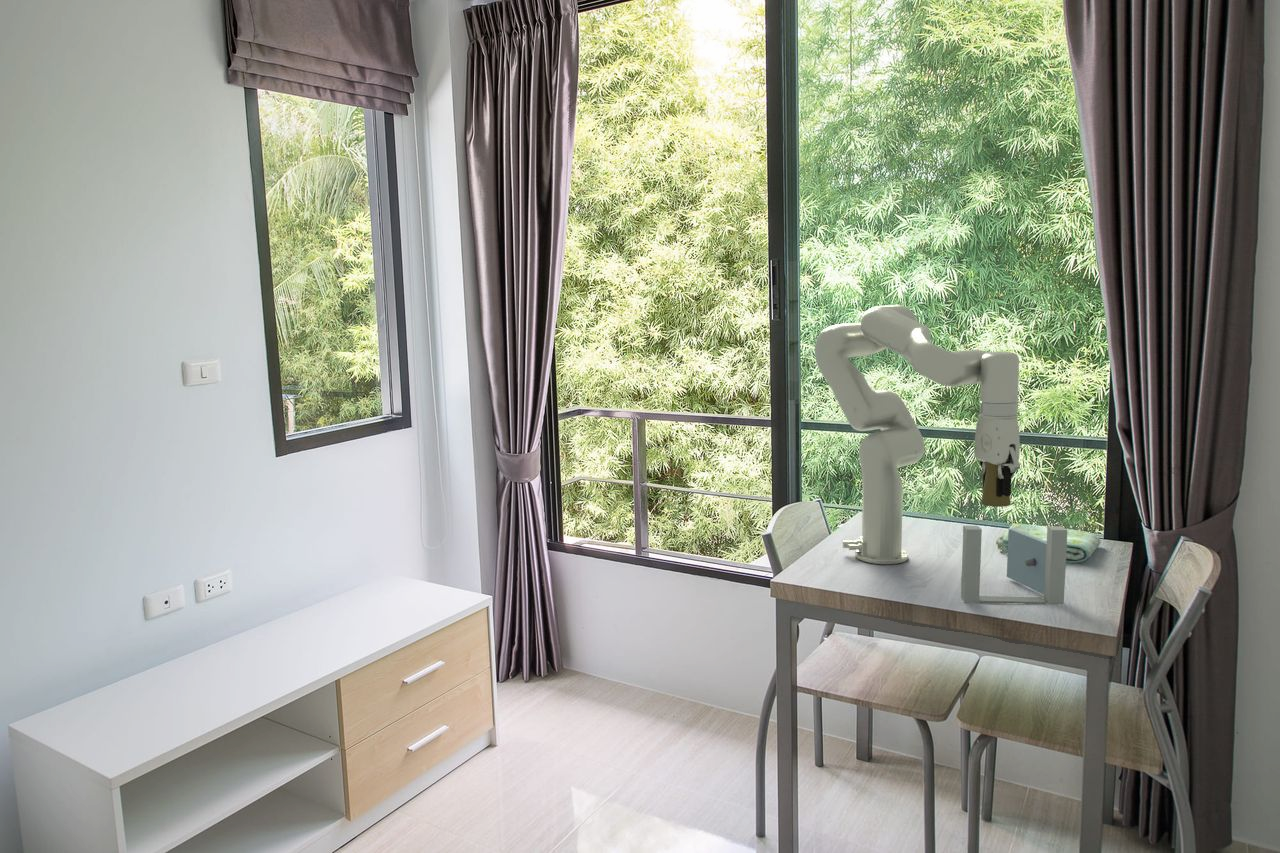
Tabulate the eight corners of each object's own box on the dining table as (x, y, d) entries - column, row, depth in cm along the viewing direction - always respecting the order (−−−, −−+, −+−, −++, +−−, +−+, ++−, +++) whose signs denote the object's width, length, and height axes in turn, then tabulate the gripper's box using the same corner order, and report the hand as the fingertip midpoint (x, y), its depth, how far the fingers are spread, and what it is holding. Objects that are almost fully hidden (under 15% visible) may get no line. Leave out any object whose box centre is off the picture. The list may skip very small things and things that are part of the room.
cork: (990, 507, 190) (991, 456, 188) (975, 501, 196) (976, 452, 194) (1016, 505, 191) (1018, 455, 189) (1001, 499, 197) (1002, 450, 195)
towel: (1012, 536, 237) (1012, 517, 236) (1100, 548, 225) (1102, 529, 224) (994, 554, 222) (994, 534, 222) (1088, 568, 210) (1089, 547, 209)
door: (1049, 594, 189) (1052, 543, 188) (1038, 596, 189) (1040, 545, 187) (1011, 576, 202) (1013, 528, 200) (1000, 577, 201) (1002, 529, 199)
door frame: (964, 602, 188) (966, 529, 186) (960, 597, 191) (963, 525, 189) (1063, 604, 186) (1067, 530, 183) (1058, 599, 189) (1062, 526, 186)
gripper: (960, 406, 198) (959, 487, 200) (1007, 415, 181) (1004, 503, 184) (990, 404, 199) (988, 485, 202) (1039, 413, 183) (1036, 500, 186)
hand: (996, 493), depth 193 cm, fingers closed on cork, 4 cm apart
